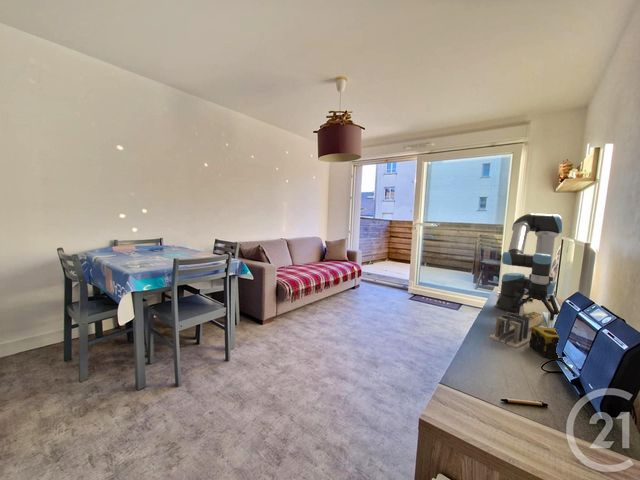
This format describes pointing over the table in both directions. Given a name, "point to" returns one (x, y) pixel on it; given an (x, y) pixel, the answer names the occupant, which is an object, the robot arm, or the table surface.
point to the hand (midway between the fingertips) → (534, 321)
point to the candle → (544, 341)
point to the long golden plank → (533, 319)
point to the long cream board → (509, 336)
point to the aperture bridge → (517, 325)
